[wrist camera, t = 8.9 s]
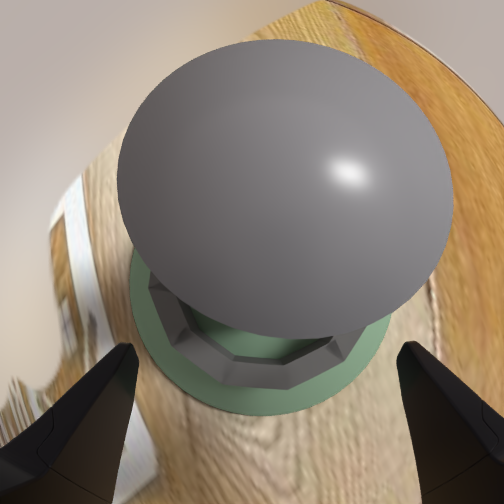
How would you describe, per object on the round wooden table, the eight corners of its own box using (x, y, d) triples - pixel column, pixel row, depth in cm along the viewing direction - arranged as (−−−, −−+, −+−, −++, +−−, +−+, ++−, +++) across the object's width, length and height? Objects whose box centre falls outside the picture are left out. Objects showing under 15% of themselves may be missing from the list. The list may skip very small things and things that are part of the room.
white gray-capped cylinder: (268, 344, 16) (322, 422, 3) (198, 281, 17) (62, 170, 4) (327, 274, 17) (484, 158, 4) (259, 216, 17) (271, 14, 5)
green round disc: (197, 449, 15) (188, 469, 12) (103, 216, 18) (83, 200, 15) (427, 334, 16) (452, 335, 13) (317, 128, 19) (325, 102, 17)
